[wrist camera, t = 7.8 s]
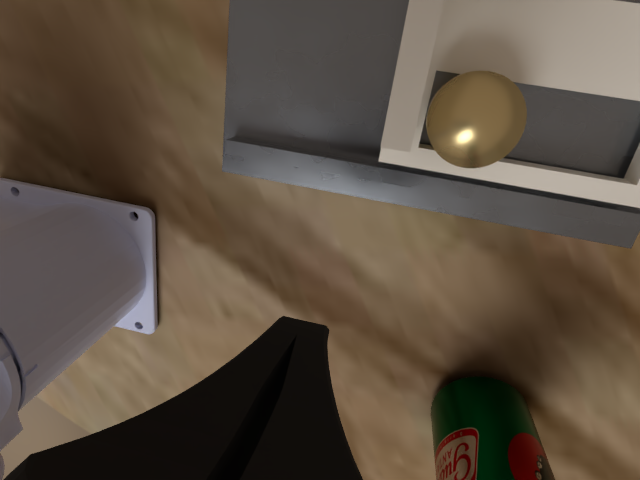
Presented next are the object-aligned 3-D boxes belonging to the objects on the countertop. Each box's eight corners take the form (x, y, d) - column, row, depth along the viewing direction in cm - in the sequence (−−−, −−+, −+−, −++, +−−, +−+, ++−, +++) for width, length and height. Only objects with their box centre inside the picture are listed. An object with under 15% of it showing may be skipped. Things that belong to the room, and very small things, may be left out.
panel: (379, 156, 18) (374, 176, 14) (439, -148, 13) (451, -215, 10) (631, 200, 16) (686, 233, 13) (778, -117, 12) (908, -180, 9)
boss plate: (231, 165, 20) (195, 186, 17) (252, -219, 15) (205, -309, 11) (617, 237, 18) (668, 278, 15) (810, -175, 13) (967, -268, 9)
